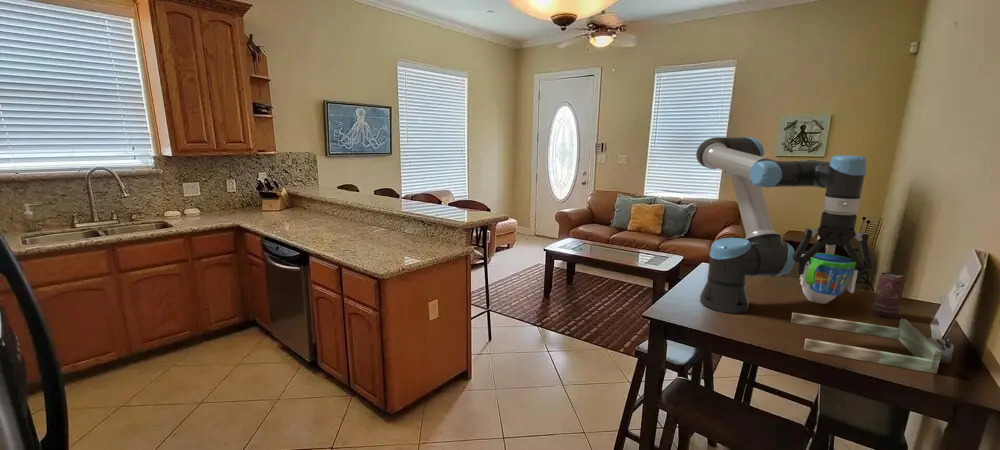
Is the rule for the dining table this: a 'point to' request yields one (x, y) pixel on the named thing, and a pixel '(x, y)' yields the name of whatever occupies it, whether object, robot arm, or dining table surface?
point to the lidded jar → (816, 295)
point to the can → (888, 295)
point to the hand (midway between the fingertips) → (826, 288)
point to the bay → (906, 334)
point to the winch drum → (944, 348)
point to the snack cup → (829, 273)
